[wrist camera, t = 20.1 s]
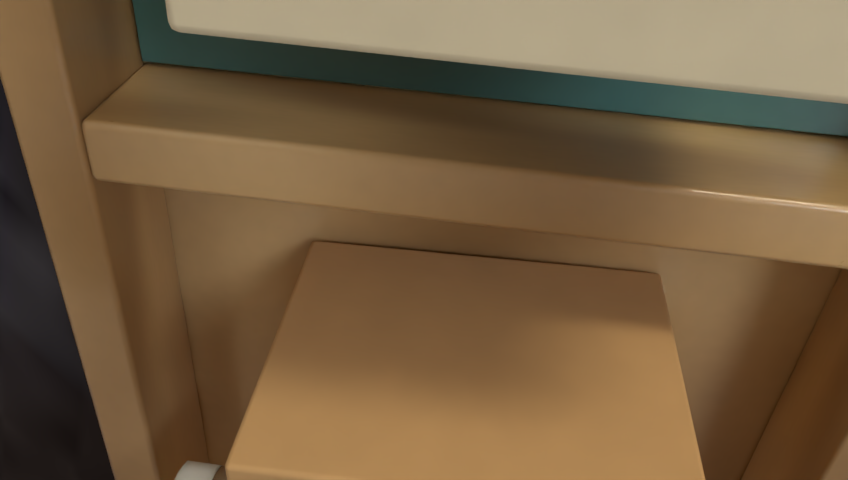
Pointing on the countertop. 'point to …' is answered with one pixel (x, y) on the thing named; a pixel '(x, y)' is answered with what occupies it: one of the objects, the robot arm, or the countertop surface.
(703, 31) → the beige rectangular block
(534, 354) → the light brown block
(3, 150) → the countertop surface
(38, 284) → the countertop surface
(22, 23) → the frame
